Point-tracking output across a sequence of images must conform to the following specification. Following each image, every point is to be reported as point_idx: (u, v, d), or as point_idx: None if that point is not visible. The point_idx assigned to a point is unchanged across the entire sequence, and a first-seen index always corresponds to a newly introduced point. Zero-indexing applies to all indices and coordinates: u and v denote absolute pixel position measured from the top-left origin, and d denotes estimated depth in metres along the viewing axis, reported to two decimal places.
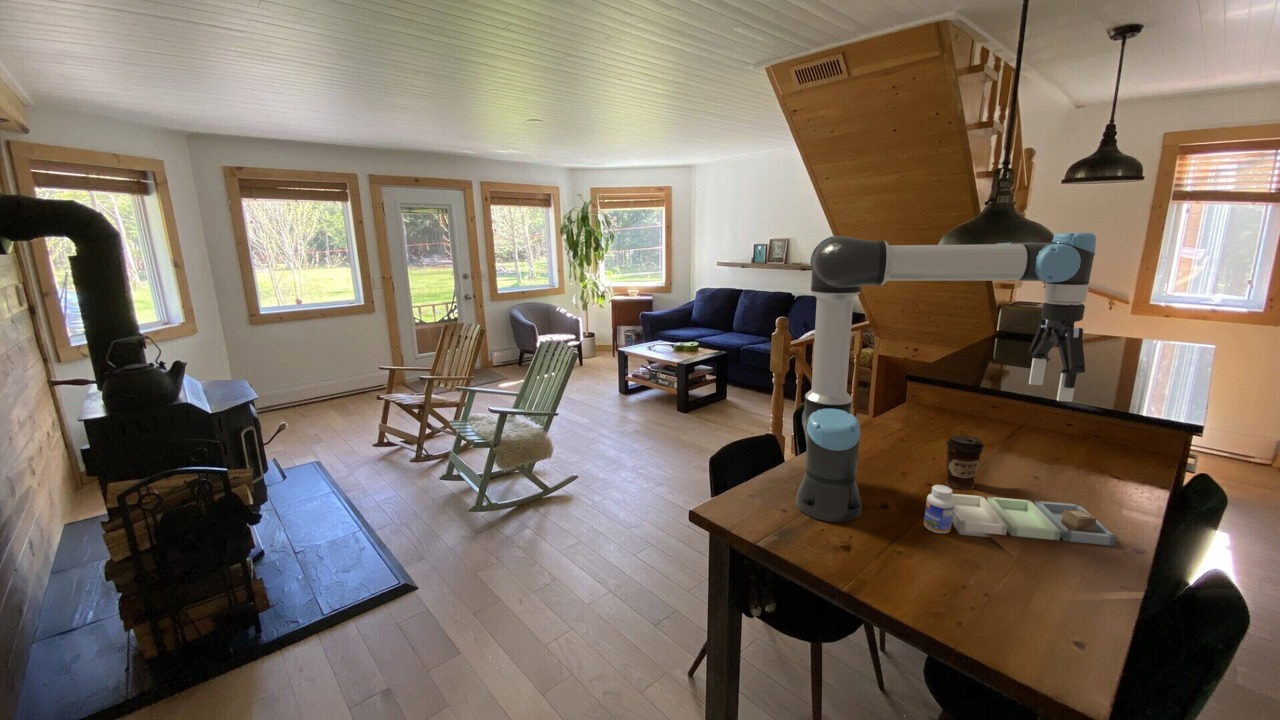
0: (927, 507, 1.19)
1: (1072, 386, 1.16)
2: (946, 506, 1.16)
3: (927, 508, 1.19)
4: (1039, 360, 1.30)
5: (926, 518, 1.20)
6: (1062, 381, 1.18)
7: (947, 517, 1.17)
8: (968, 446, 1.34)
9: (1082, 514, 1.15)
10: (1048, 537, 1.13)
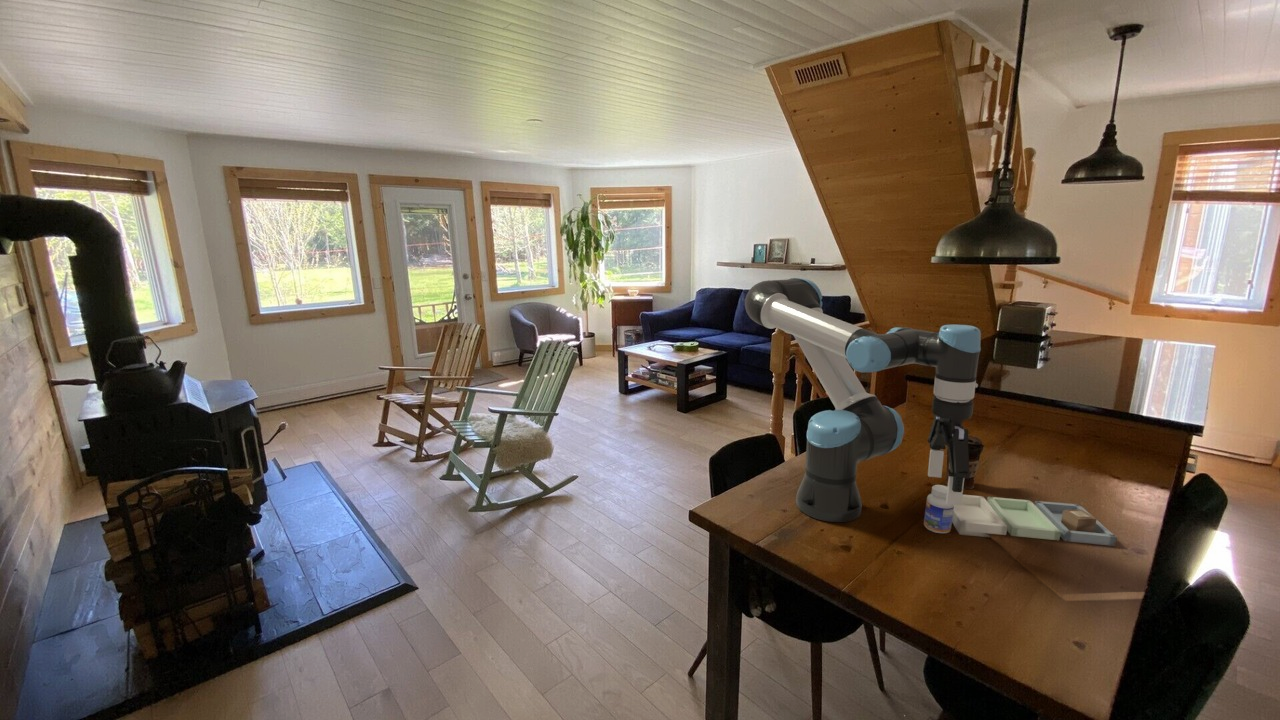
0: (927, 507, 1.19)
1: (959, 490, 1.09)
2: (946, 506, 1.16)
3: (927, 508, 1.19)
4: (936, 452, 1.22)
5: (926, 518, 1.20)
6: (950, 484, 1.10)
7: (947, 517, 1.17)
8: (968, 446, 1.34)
9: (1082, 514, 1.15)
10: (1048, 537, 1.13)
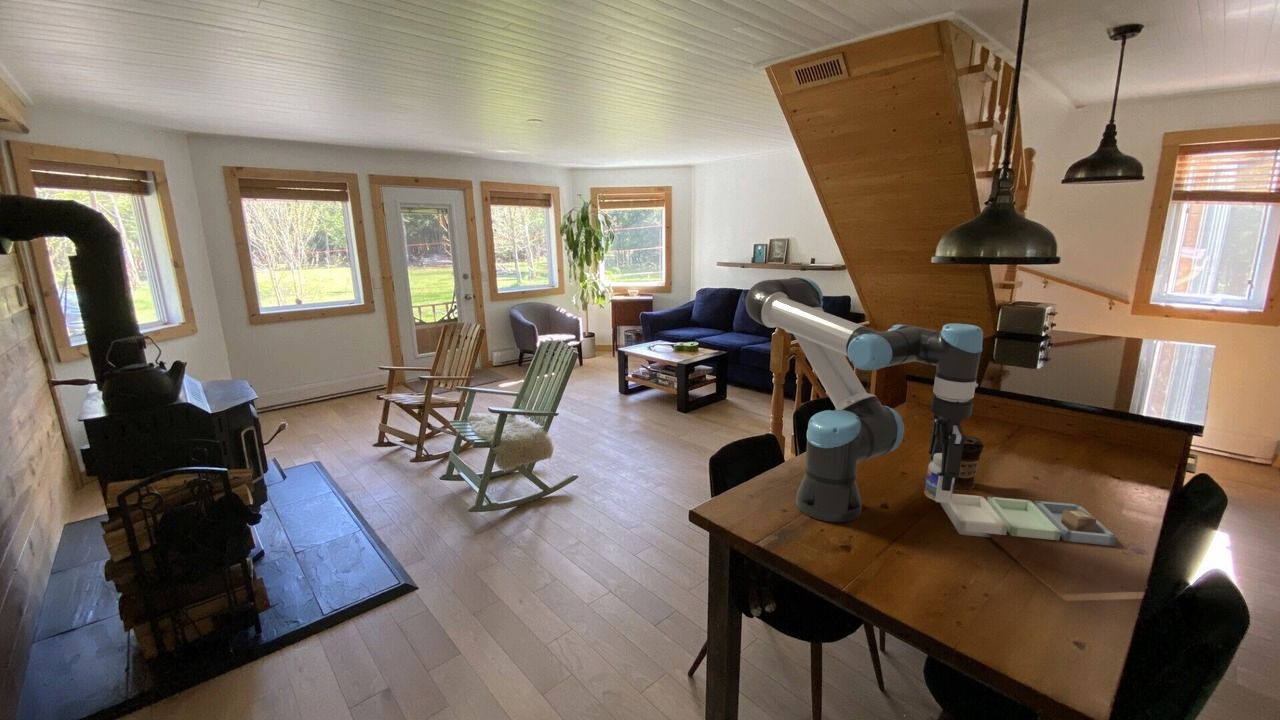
0: (928, 475, 1.18)
1: (948, 489, 1.14)
2: None
3: (928, 476, 1.18)
4: None
5: (927, 486, 1.18)
6: (939, 483, 1.15)
7: None
8: (968, 446, 1.34)
9: (1082, 514, 1.15)
10: (1048, 537, 1.13)
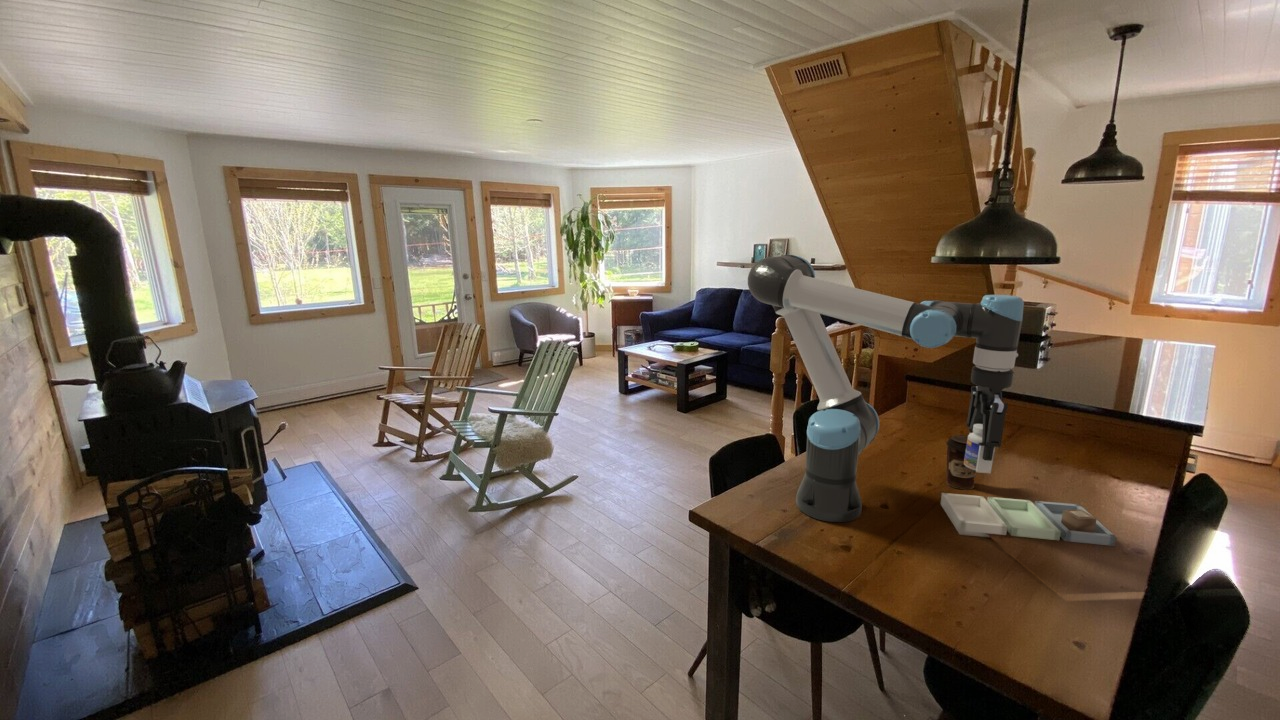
0: (968, 445, 1.19)
1: (989, 459, 1.15)
2: None
3: (968, 447, 1.19)
4: None
5: (967, 457, 1.19)
6: (980, 453, 1.16)
7: None
8: None
9: (1082, 514, 1.15)
10: (1048, 537, 1.13)
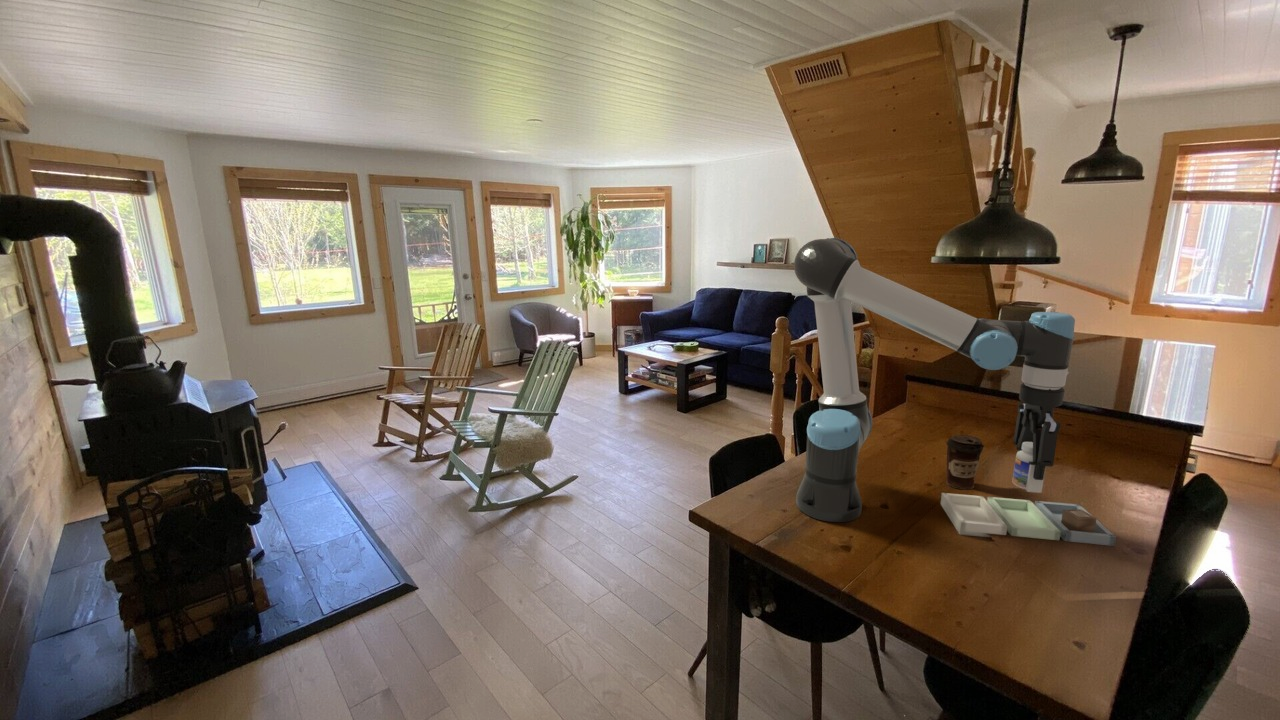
0: (1017, 464, 1.17)
1: (1041, 478, 1.13)
2: None
3: (1017, 465, 1.17)
4: None
5: (1016, 475, 1.18)
6: (1031, 472, 1.14)
7: None
8: (968, 446, 1.34)
9: (1082, 514, 1.15)
10: (1048, 537, 1.13)
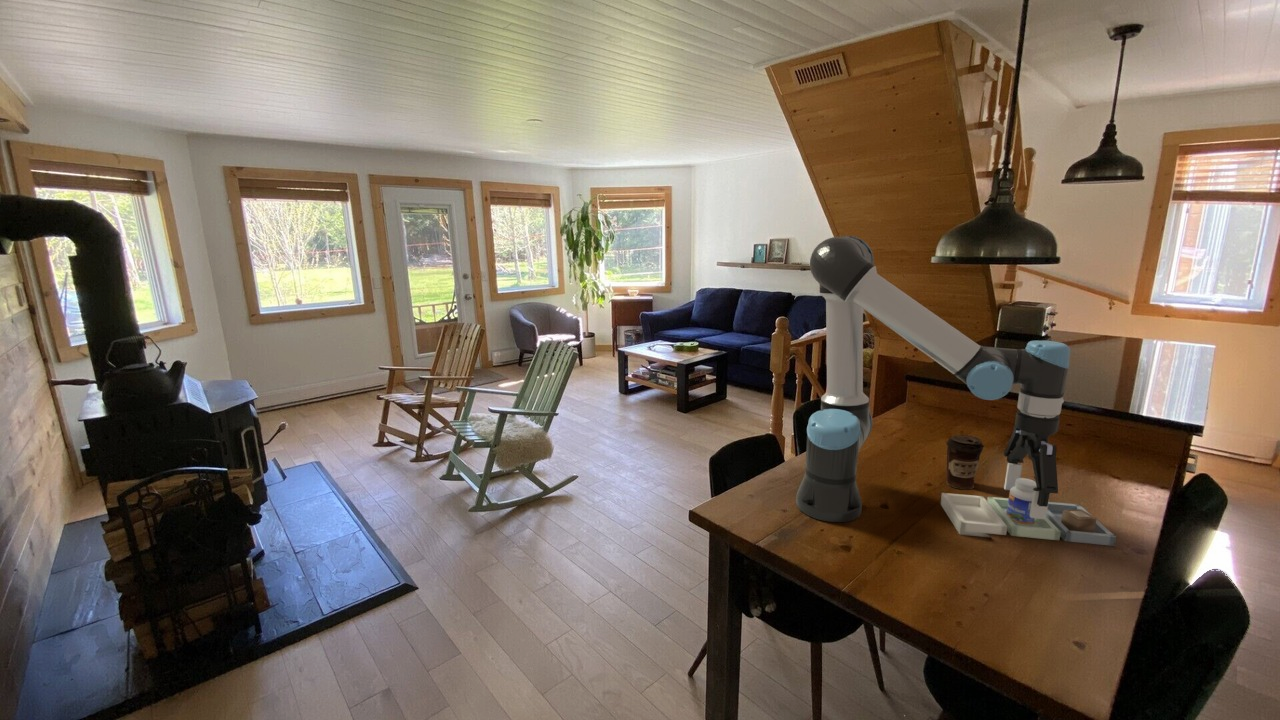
0: (1011, 500, 1.19)
1: (1045, 505, 1.11)
2: (1031, 499, 1.16)
3: (1010, 501, 1.20)
4: (1014, 465, 1.24)
5: (1009, 511, 1.20)
6: (1035, 498, 1.12)
7: None
8: (968, 446, 1.34)
9: (1082, 514, 1.15)
10: (1048, 537, 1.13)
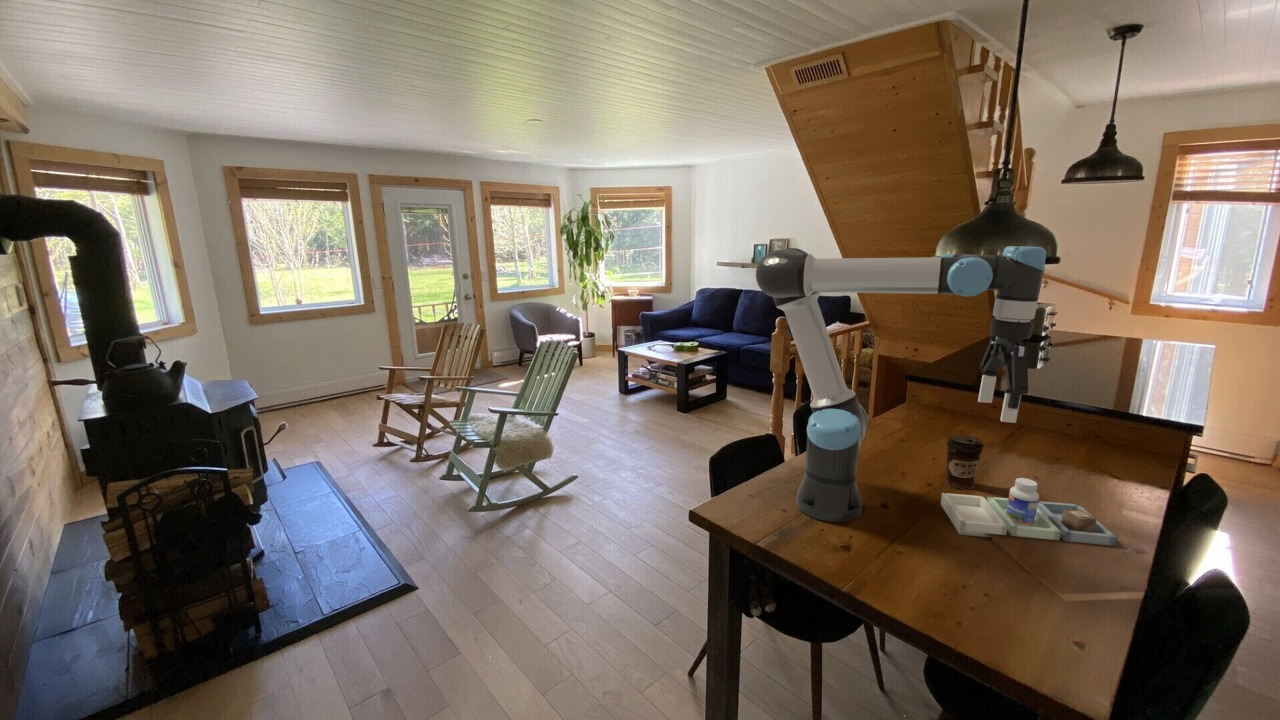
0: (1010, 500, 1.19)
1: (1015, 407, 1.11)
2: (1031, 499, 1.16)
3: (1010, 501, 1.20)
4: (989, 377, 1.25)
5: (1009, 511, 1.20)
6: (1006, 401, 1.13)
7: (1032, 510, 1.17)
8: (968, 446, 1.34)
9: (1082, 514, 1.15)
10: (1048, 537, 1.13)
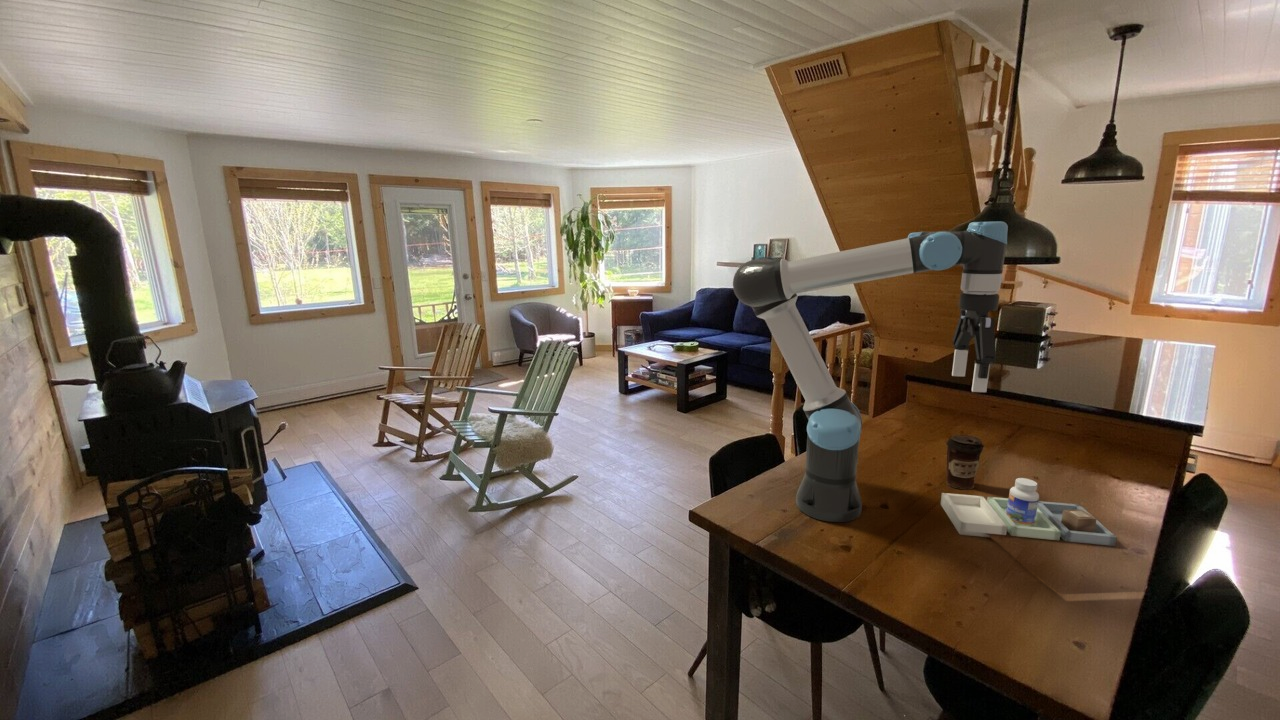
0: (1010, 500, 1.19)
1: (985, 376, 1.15)
2: (1031, 499, 1.16)
3: (1010, 501, 1.20)
4: (961, 351, 1.29)
5: (1009, 511, 1.20)
6: (976, 371, 1.16)
7: (1032, 510, 1.17)
8: (968, 446, 1.34)
9: (1082, 514, 1.15)
10: (1048, 537, 1.13)
